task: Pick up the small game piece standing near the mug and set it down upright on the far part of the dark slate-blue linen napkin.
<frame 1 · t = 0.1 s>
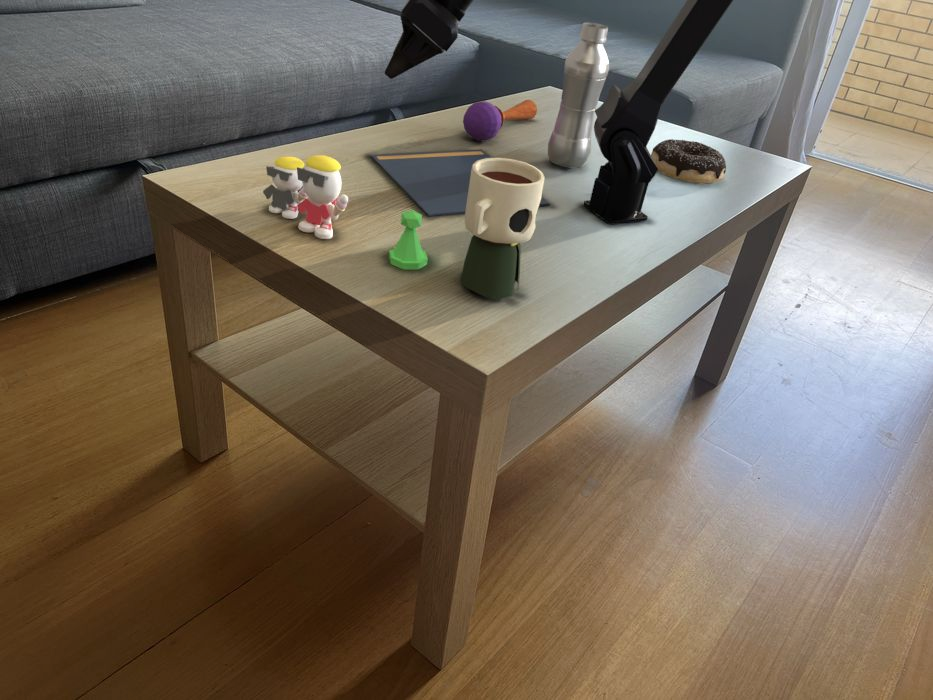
hand: (391, 66, 88), 15 cm above the table, tool tilted 35°, fingers open, 9 cm apart
donut: (685, 173, 115), on the table
silver metal bottle: (565, 165, 111), on the table
napkin: (457, 180, 100), on the table
toy figures: (306, 222, 84), on the table
character mug: (488, 289, 77), on the table
maraca: (500, 131, 121), on the table
game piece: (407, 262, 79), on the table
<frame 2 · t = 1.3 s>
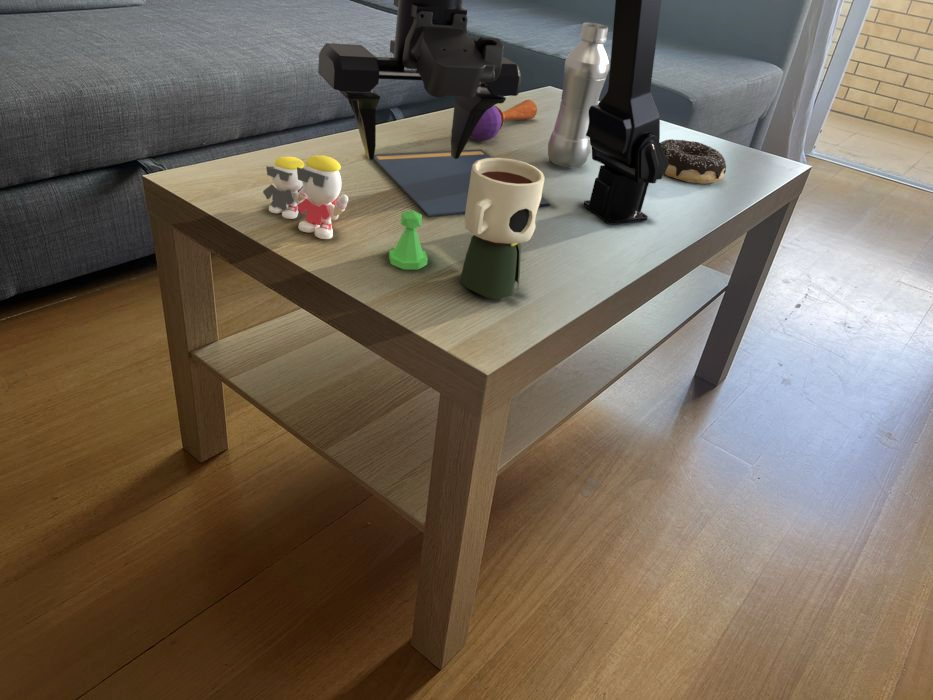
hand: (413, 158, 73), 11 cm above the table, tool pointing down, fingers open, 9 cm apart
nothing on the table moved.
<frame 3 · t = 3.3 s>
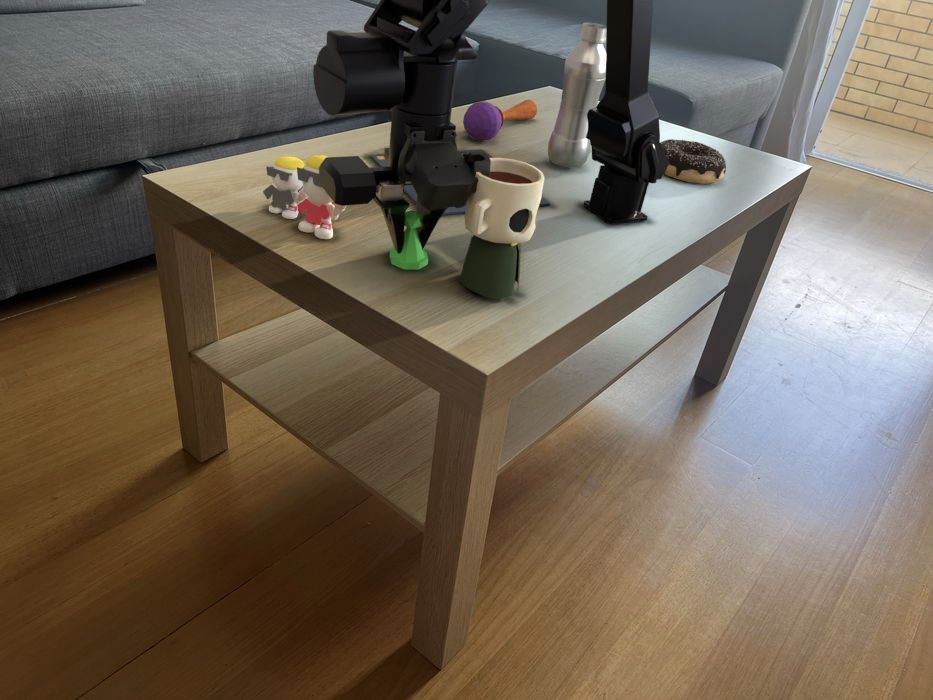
hand: (408, 250, 78), 1 cm above the table, tool pointing down, fingers closed on game piece, 2 cm apart
game piece: (408, 262, 79), on the table, touching gripper
everything else where it was.
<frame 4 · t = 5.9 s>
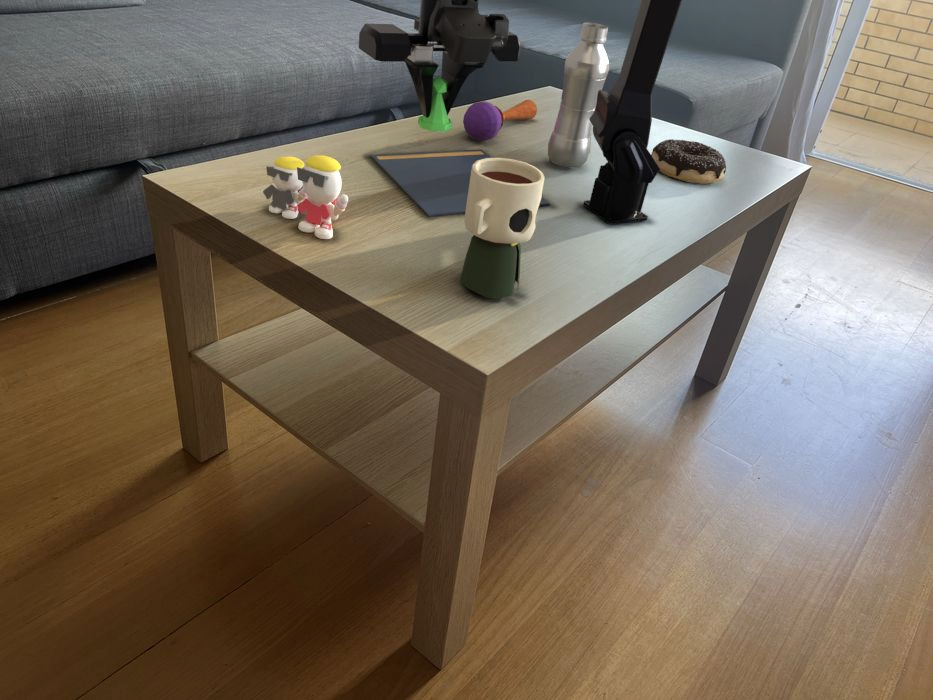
hand: (435, 116, 89), 10 cm above the table, tool pointing down, fingers closed on game piece
game piece: (434, 127, 90), point 9 cm above the table, touching gripper
everything else where it was.
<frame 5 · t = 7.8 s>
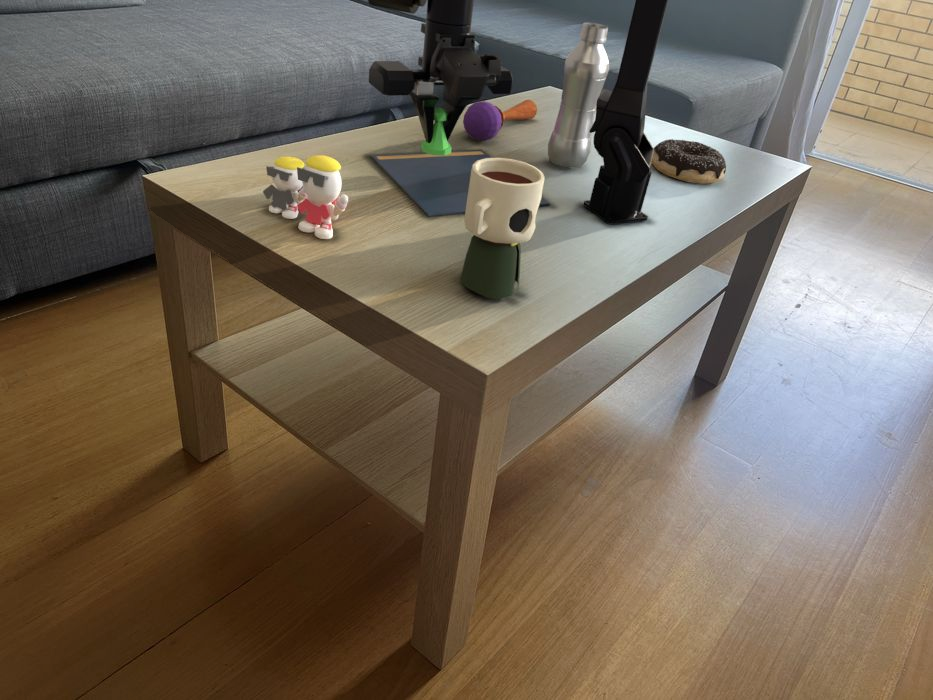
hand: (436, 141, 100), 4 cm above the table, tool pointing down, fingers closed on game piece
game piece: (435, 151, 101), point 3 cm above the table, touching gripper
everything else where it was.
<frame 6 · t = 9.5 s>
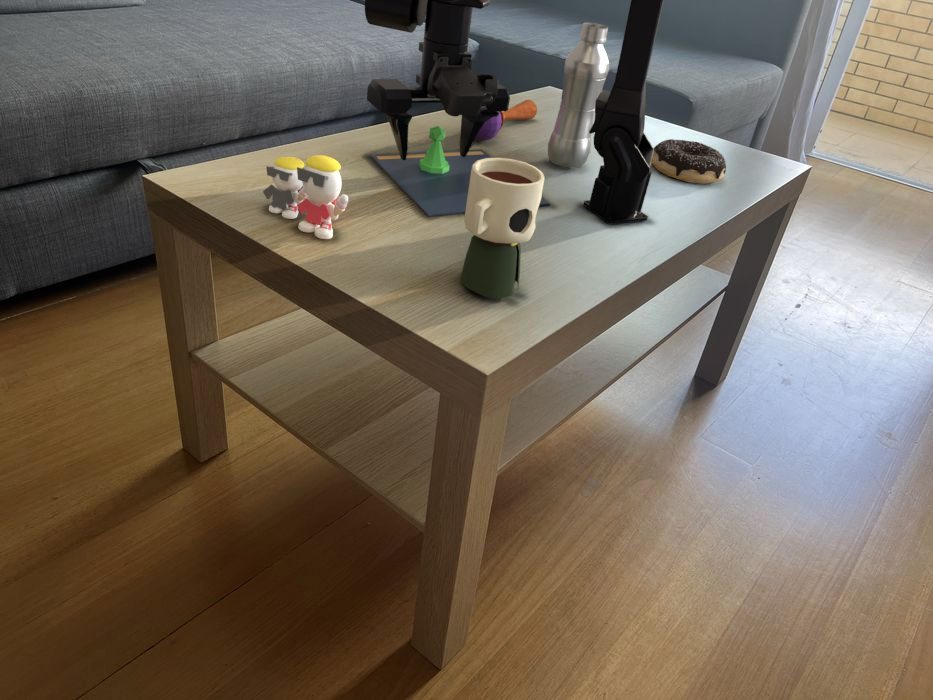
hand: (433, 157, 101), 2 cm above the table, tool pointing down, fingers open, 9 cm apart
game piece: (433, 169, 102), resting on napkin
everything else where it was.
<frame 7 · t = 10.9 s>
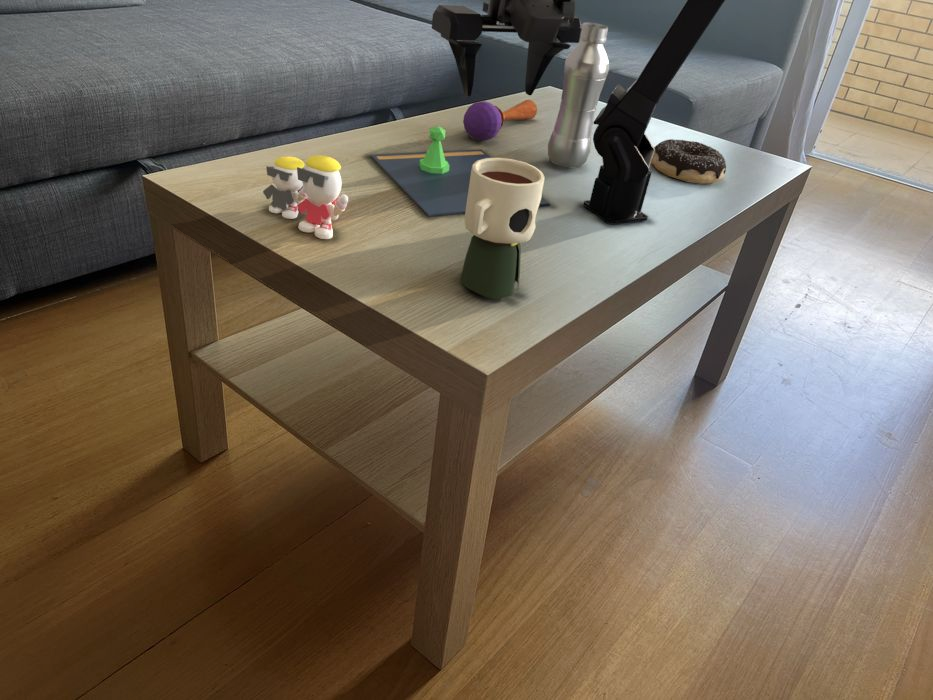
hand: (498, 94, 94), 12 cm above the table, tool pointing down, fingers open, 9 cm apart
nothing on the table moved.
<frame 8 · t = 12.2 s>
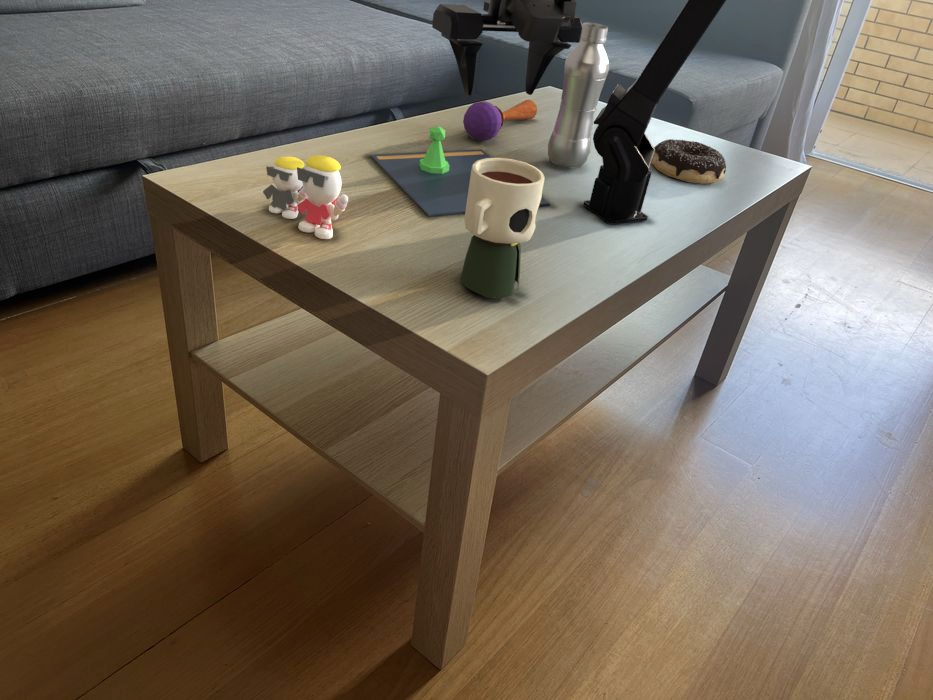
hand: (498, 94, 94), 12 cm above the table, tool pointing down, fingers open, 9 cm apart
nothing on the table moved.
at the end: game piece inside the target area on the napkin (0.2 cm from its centre), point 0.1 cm above the napkin's base; game piece tilted 0°; the gripper is holding nothing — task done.
